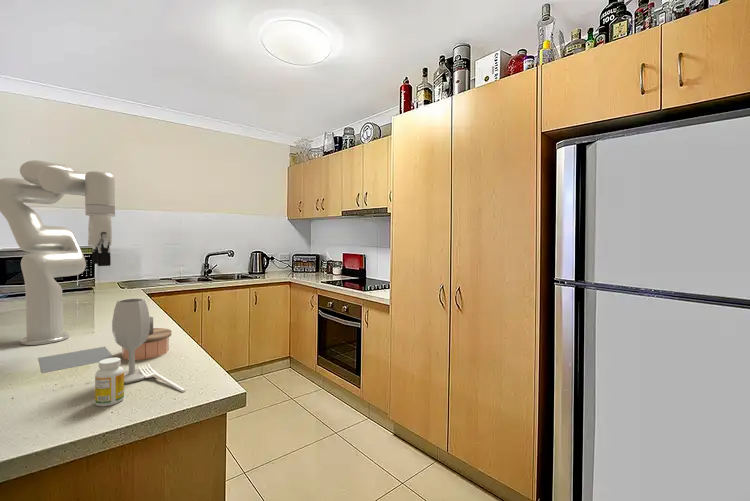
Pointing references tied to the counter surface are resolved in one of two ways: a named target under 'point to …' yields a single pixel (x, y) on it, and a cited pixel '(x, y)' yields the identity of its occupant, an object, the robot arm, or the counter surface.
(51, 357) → the mat
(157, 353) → the bowl
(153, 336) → the lid
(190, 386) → the counter surface
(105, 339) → the counter surface
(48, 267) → the robot arm
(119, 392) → the supplement bottle
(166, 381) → the fork
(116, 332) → the wineglass
